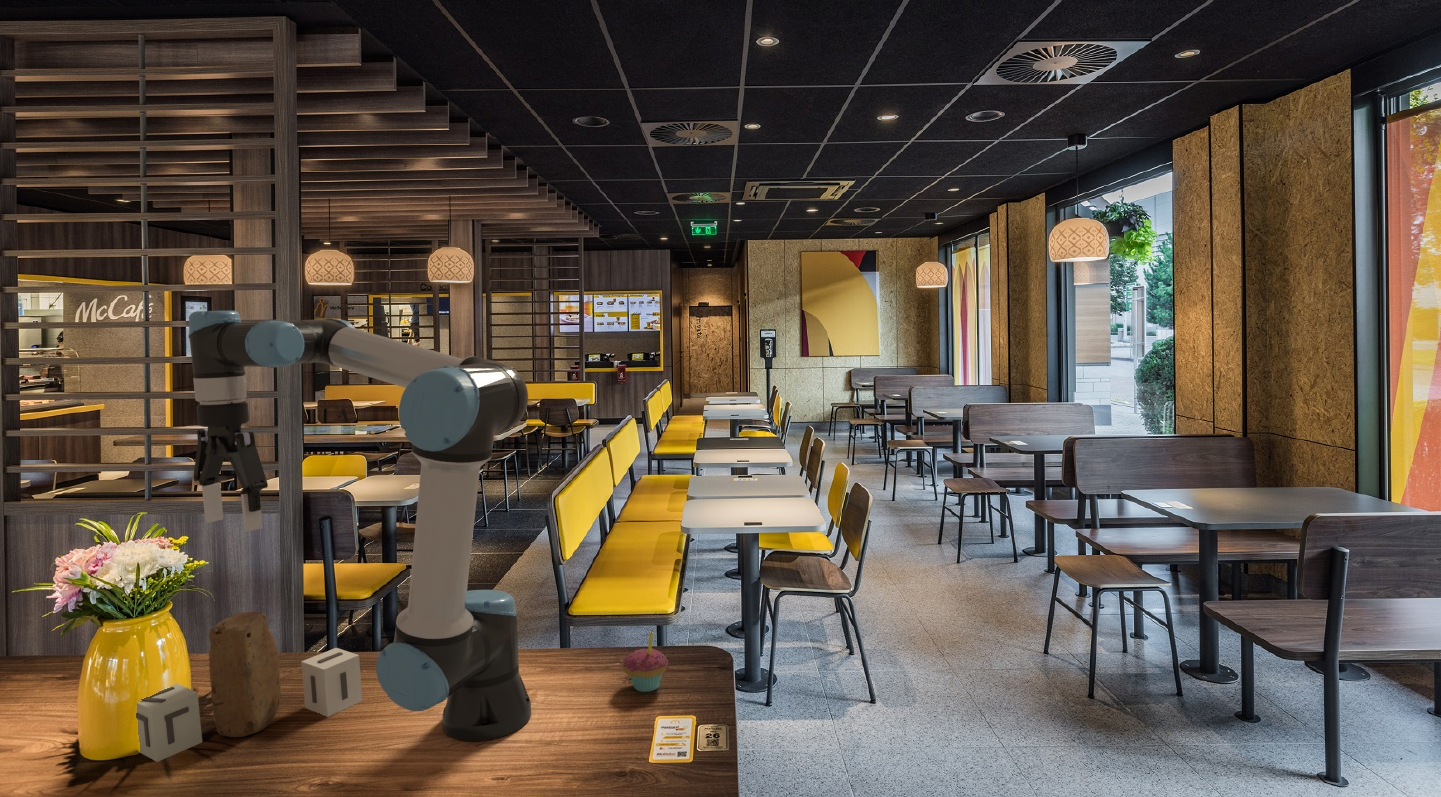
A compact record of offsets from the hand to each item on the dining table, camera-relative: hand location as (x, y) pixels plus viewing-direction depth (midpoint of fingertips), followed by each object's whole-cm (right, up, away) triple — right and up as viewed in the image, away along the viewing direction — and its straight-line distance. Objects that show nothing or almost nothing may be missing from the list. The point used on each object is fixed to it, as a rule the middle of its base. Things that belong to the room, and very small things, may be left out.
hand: (233, 525), depth 142 cm
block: (+1, -36, +4) cm, 36 cm away
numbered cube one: (+12, -35, +11) cm, 39 cm away
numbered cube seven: (-9, -37, -3) cm, 38 cm away
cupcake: (+70, -33, +15) cm, 79 cm away
